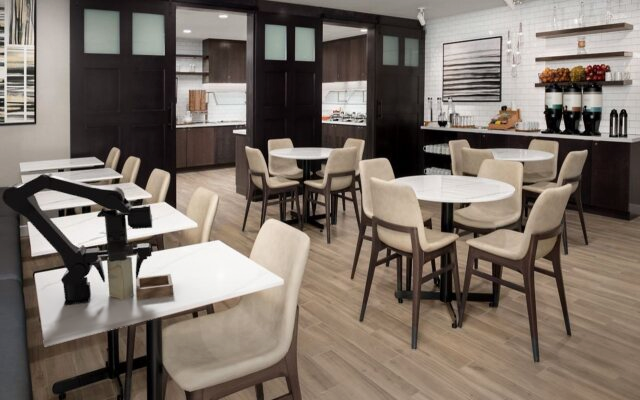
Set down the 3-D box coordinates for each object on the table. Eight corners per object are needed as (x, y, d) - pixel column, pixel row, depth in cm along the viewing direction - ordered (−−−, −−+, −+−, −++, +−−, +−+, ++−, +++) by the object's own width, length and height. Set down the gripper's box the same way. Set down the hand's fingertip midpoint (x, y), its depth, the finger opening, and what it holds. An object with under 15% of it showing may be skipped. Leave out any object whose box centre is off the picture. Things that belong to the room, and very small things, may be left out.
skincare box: (108, 296, 160) (105, 258, 157) (120, 291, 164) (117, 253, 161) (123, 300, 157) (120, 261, 154) (135, 295, 161) (132, 256, 158)
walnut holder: (136, 300, 157) (135, 289, 156) (136, 287, 166) (135, 277, 166) (173, 295, 160) (172, 285, 159) (171, 283, 170) (170, 273, 169)
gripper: (79, 240, 146) (84, 293, 149) (150, 233, 152) (154, 285, 155) (82, 230, 156) (87, 280, 159) (149, 224, 162) (152, 273, 165)
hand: (120, 279), depth 159 cm, fingers open, 9 cm apart
